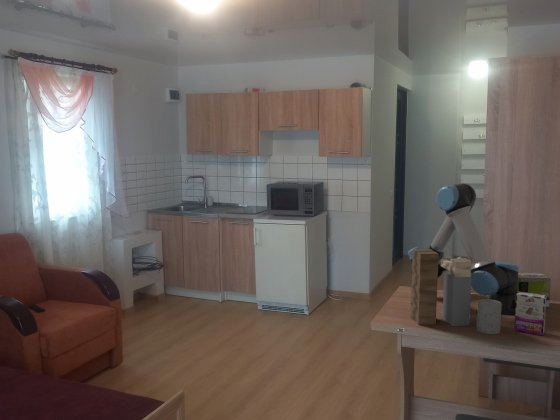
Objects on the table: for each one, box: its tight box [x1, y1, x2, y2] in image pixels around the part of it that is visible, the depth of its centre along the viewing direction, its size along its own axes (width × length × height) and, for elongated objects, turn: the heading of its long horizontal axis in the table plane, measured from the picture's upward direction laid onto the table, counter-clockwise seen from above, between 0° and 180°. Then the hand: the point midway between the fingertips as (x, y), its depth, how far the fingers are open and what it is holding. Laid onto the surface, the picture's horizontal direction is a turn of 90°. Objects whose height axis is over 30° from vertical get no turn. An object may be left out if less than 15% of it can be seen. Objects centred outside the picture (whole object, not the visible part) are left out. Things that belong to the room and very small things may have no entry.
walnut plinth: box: [410, 248, 439, 326], centre depth 231 cm, size 10×8×32 cm
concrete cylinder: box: [476, 298, 502, 335], centre depth 221 cm, size 10×10×12 cm
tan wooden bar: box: [440, 258, 471, 277], centre depth 233 cm, size 20×7×7 cm, turn 6°
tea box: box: [517, 272, 552, 308], centre depth 254 cm, size 15×10×15 cm
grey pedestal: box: [441, 270, 472, 327], centre depth 230 cm, size 10×8×22 cm
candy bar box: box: [514, 292, 547, 336], centre depth 218 cm, size 11×5×16 cm, turn 56°
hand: (449, 259), depth 235 cm, fingers open, 10 cm apart
